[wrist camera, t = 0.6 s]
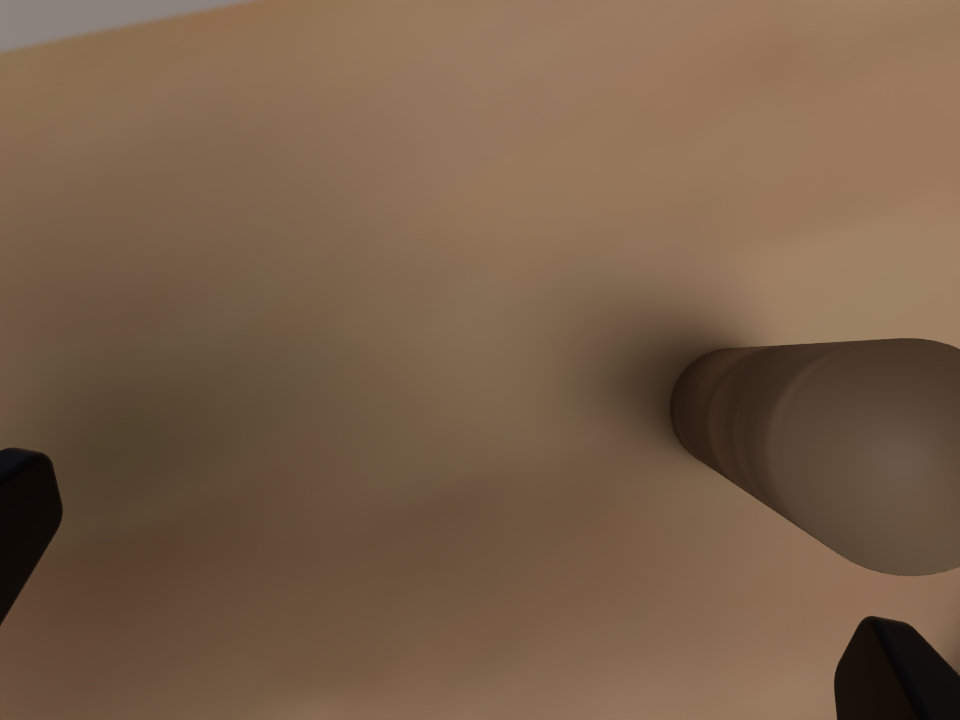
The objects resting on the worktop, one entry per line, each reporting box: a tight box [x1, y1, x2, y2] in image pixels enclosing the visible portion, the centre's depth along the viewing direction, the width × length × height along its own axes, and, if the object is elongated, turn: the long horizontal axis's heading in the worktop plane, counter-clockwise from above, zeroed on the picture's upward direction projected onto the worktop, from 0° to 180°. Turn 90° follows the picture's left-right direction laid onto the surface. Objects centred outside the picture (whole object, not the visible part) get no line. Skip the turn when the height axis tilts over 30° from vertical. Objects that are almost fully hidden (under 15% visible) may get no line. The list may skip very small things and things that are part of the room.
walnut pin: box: [670, 338, 960, 576], centre depth 17 cm, size 4×4×11 cm
